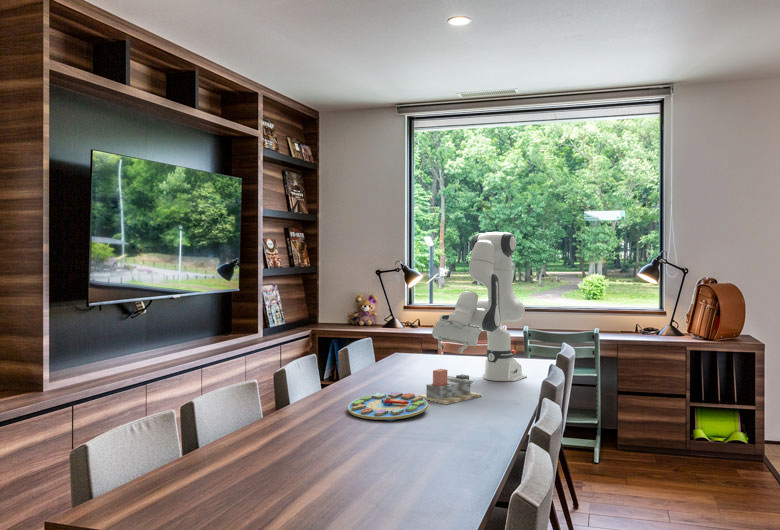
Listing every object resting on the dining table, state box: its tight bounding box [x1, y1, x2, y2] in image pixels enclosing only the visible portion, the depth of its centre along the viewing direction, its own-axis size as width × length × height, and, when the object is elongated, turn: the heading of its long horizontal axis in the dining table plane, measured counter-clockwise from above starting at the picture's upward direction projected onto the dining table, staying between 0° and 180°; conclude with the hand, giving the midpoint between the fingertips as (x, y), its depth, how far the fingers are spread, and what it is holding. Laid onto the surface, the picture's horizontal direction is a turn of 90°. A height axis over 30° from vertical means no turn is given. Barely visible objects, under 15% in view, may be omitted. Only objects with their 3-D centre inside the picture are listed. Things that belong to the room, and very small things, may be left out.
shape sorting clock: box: [347, 391, 429, 422], centre depth 242 cm, size 31×30×6 cm
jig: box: [417, 373, 482, 405], centre depth 266 cm, size 22×16×8 cm
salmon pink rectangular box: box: [432, 368, 448, 387], centre depth 262 cm, size 6×4×9 cm, turn 141°
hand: (449, 350), depth 270 cm, fingers open, 8 cm apart
